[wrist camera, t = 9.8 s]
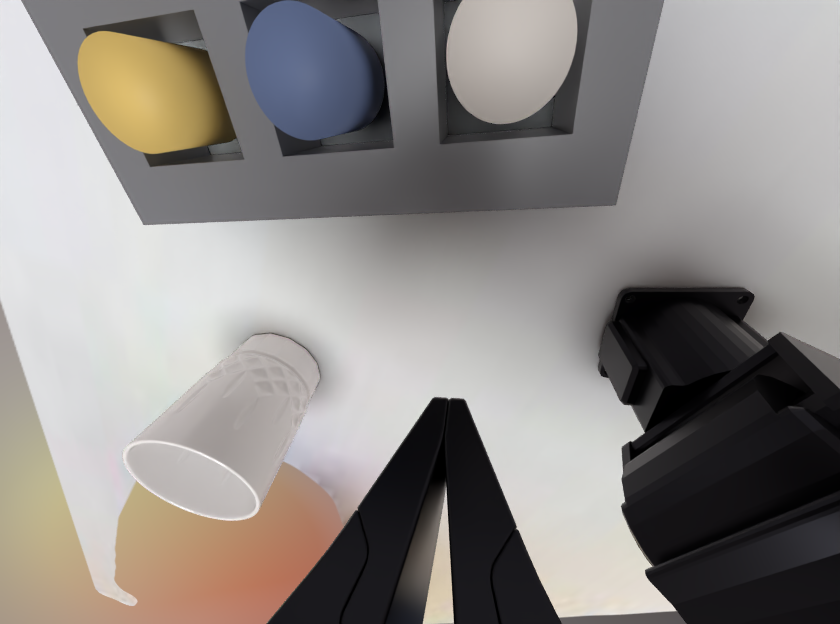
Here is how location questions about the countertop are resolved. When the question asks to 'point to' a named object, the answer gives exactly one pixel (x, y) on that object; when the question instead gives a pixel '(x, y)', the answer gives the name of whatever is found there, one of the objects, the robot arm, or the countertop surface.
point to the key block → (409, 109)
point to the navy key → (312, 72)
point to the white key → (510, 55)
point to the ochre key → (153, 92)
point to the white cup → (228, 431)
